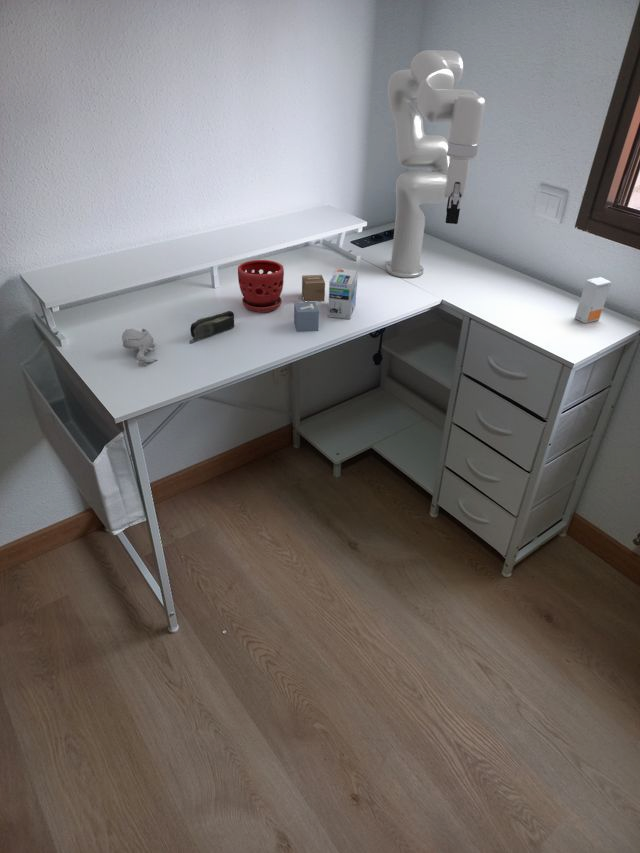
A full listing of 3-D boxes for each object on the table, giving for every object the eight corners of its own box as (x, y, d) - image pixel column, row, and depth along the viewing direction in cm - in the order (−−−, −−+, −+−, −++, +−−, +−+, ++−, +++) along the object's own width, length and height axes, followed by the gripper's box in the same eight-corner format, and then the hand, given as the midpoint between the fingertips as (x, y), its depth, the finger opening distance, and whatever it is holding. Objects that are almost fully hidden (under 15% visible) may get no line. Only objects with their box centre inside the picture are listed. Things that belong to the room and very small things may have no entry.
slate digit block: (294, 322, 176) (294, 302, 172) (314, 321, 177) (315, 301, 173) (296, 332, 171) (297, 311, 167) (318, 331, 172) (319, 310, 168)
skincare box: (585, 324, 181) (597, 285, 174) (574, 318, 184) (585, 279, 177) (600, 320, 183) (612, 281, 176) (588, 314, 186) (600, 276, 179)
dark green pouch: (229, 308, 171) (183, 323, 162) (236, 311, 170) (190, 327, 160) (229, 324, 174) (185, 340, 165) (236, 328, 172) (192, 344, 163)
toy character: (121, 368, 152) (118, 337, 160) (155, 374, 157) (151, 344, 164) (128, 350, 149) (125, 319, 156) (163, 357, 153) (158, 327, 161)
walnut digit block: (301, 294, 192) (302, 274, 188) (321, 293, 193) (321, 274, 189) (304, 302, 187) (305, 282, 183) (324, 301, 188) (325, 282, 184)
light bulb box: (350, 320, 178) (352, 284, 172) (327, 317, 179) (328, 281, 173) (356, 304, 187) (358, 270, 180) (334, 302, 188) (335, 267, 181)
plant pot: (293, 305, 184) (293, 266, 177) (260, 319, 177) (259, 279, 170) (263, 292, 192) (262, 254, 184) (230, 304, 184) (227, 265, 177)
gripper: (448, 141, 166) (438, 207, 176) (446, 156, 152) (436, 226, 162) (476, 143, 165) (465, 209, 175) (477, 159, 151) (465, 229, 161)
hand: (451, 217), depth 168 cm, fingers open, 9 cm apart
